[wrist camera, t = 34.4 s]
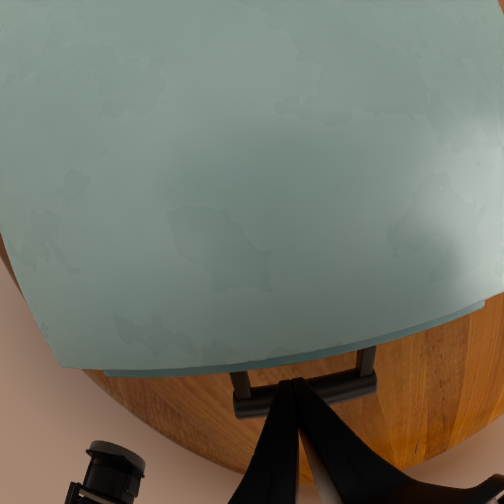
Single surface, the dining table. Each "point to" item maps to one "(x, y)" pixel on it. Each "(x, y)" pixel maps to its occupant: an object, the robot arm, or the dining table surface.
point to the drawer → (326, 386)
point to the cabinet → (248, 172)
